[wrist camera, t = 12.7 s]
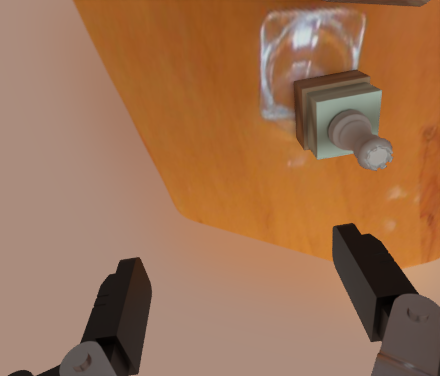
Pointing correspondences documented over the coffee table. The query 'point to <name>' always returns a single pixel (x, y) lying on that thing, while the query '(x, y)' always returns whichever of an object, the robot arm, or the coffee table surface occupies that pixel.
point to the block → (385, 2)
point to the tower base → (332, 108)
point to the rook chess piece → (360, 139)
